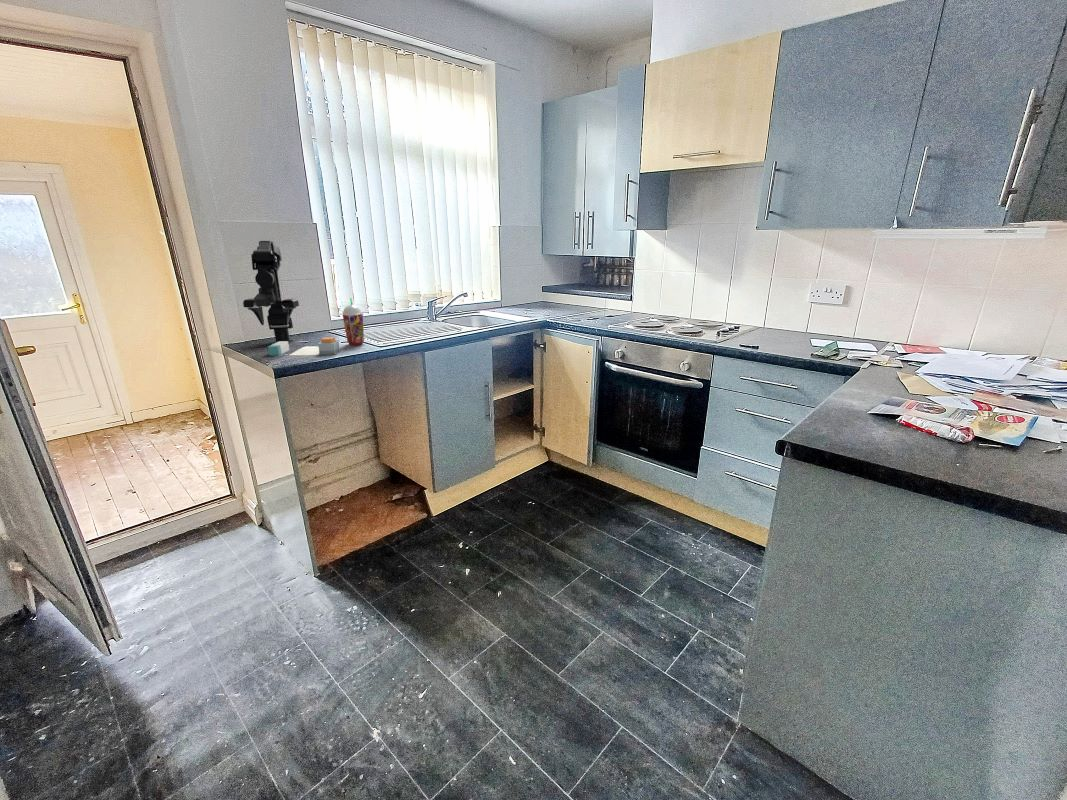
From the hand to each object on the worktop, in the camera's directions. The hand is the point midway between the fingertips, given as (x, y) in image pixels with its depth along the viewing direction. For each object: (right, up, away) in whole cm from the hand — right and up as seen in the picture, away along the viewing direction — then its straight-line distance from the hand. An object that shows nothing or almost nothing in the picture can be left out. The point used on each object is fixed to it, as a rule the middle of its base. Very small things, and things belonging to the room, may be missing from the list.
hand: (274, 325), depth 184 cm
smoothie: (+25, -6, +20) cm, 32 cm away
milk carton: (0, -11, +4) cm, 11 cm away
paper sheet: (+11, -9, +7) cm, 16 cm away
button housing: (+20, -11, +4) cm, 23 cm away
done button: (+20, -8, +3) cm, 22 cm away
